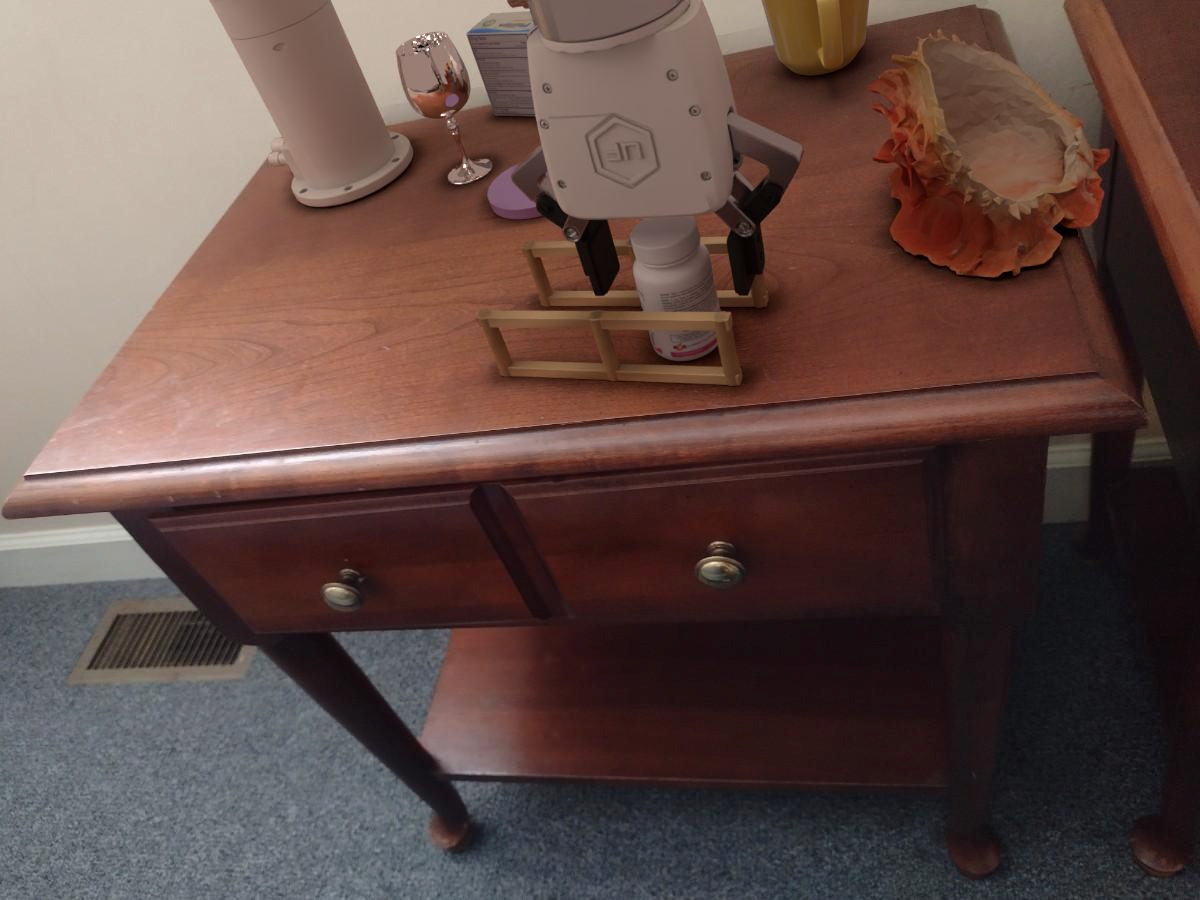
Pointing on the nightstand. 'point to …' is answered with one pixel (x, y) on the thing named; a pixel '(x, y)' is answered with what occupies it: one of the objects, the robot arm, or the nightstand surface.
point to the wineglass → (439, 91)
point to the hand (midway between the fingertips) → (675, 281)
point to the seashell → (982, 160)
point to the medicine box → (505, 61)
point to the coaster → (511, 198)
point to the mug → (816, 32)
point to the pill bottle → (674, 282)
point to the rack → (617, 324)
